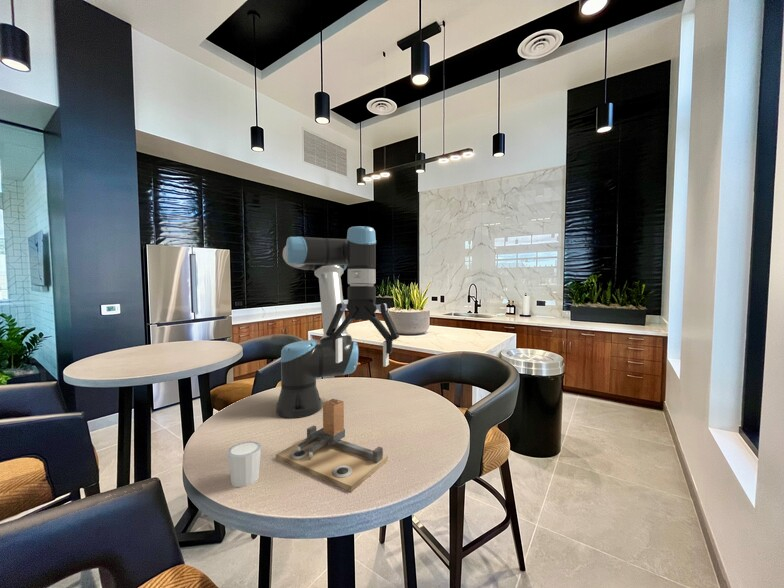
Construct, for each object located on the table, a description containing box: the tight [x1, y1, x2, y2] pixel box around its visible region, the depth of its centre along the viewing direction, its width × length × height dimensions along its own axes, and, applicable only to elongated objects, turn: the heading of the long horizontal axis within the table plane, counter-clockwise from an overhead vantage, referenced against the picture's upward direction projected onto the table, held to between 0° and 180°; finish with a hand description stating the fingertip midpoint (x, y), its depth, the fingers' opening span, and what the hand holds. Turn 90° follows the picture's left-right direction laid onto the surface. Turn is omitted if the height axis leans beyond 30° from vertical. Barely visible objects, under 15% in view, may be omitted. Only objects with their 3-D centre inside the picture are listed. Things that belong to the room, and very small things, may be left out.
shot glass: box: [227, 440, 262, 488], centre depth 71 cm, size 7×7×7 cm
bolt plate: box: [275, 425, 389, 493], centre depth 78 cm, size 24×14×4 cm, turn 58°
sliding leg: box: [309, 398, 346, 458], centre depth 81 cm, size 4×11×11 cm, turn 148°
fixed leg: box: [298, 427, 323, 454], centre depth 83 cm, size 4×11×2 cm, turn 148°
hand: (362, 363), depth 86 cm, fingers open, 13 cm apart
